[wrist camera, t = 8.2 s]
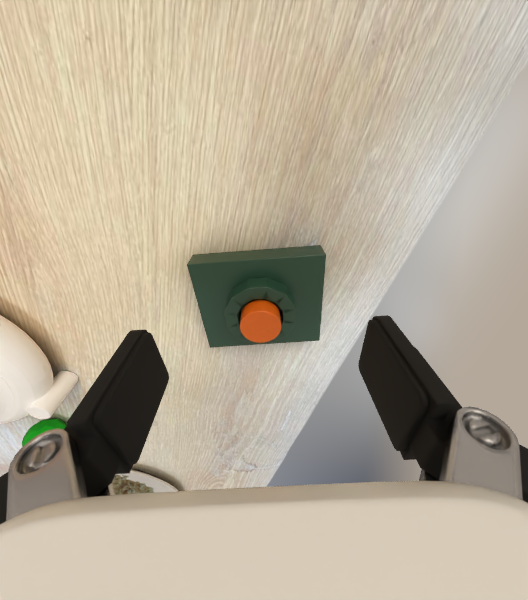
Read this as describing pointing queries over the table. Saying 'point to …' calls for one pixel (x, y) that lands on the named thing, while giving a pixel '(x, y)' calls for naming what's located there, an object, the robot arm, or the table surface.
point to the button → (260, 321)
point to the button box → (260, 291)
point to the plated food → (139, 484)
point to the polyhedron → (42, 428)
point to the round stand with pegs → (28, 377)
